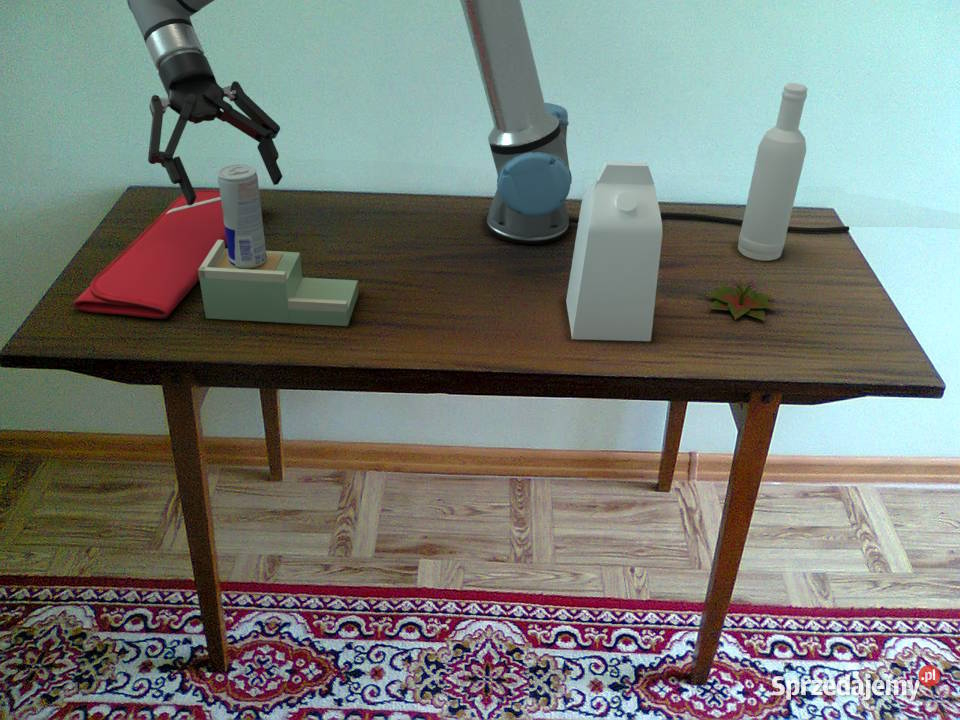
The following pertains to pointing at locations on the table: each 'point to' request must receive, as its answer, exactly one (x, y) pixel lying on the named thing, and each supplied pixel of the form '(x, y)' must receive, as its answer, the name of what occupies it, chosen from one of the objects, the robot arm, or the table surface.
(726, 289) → the lily flower
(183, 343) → the table surface
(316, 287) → the green stepped stand
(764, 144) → the bottle
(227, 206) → the beverage can
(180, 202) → the dish drying mat
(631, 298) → the milk
